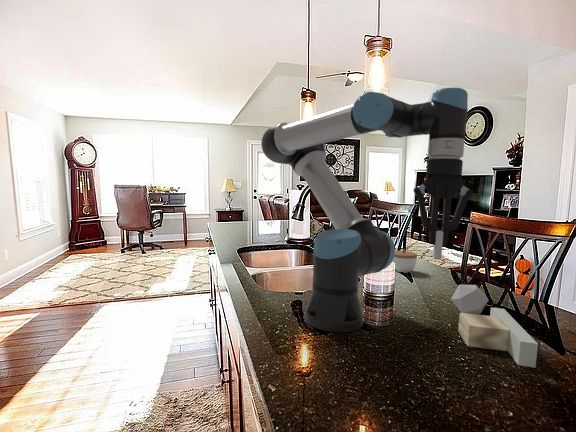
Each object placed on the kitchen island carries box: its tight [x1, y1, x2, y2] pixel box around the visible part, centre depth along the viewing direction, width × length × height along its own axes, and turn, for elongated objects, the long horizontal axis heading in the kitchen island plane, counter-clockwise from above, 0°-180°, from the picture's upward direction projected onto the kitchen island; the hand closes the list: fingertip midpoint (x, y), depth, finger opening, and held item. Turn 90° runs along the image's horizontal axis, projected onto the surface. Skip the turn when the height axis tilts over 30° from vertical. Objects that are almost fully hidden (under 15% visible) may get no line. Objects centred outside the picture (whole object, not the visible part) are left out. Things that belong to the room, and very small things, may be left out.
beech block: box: [457, 312, 509, 352], centre depth 78 cm, size 8×8×5 cm
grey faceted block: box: [450, 284, 489, 315], centre depth 96 cm, size 8×9×10 cm
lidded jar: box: [392, 248, 418, 274], centre depth 141 cm, size 11×11×9 cm
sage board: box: [489, 307, 539, 368], centre depth 76 cm, size 3×20×5 cm, turn 163°
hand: (436, 258), depth 80 cm, fingers closed
